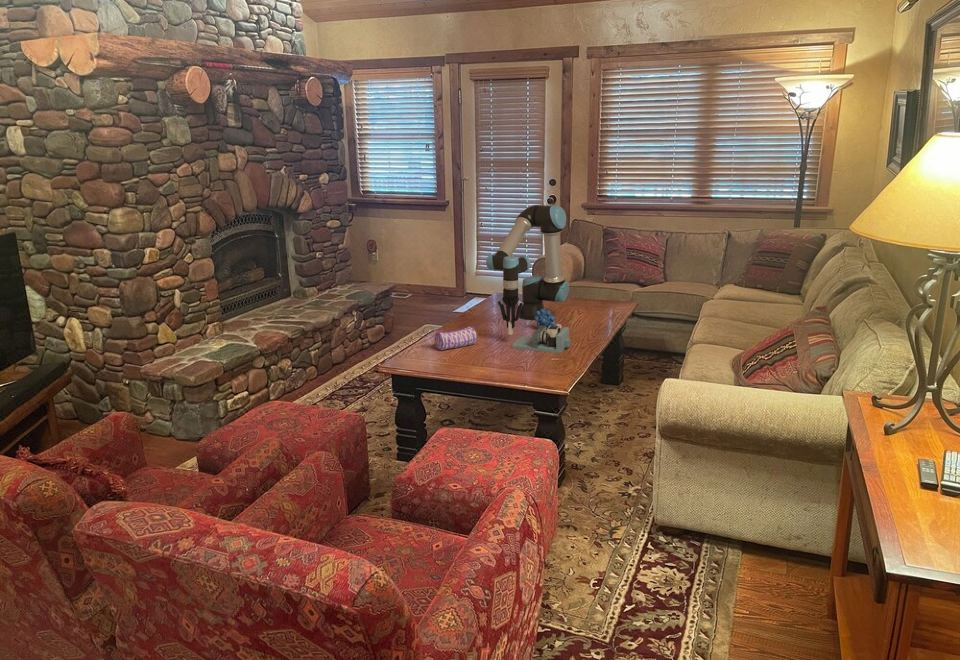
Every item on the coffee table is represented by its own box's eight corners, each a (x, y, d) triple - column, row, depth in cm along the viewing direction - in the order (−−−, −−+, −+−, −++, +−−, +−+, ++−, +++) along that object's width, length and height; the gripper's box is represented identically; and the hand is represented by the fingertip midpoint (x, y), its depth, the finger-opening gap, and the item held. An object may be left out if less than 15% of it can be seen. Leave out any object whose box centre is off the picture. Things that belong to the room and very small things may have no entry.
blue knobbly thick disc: (531, 331, 374) (532, 309, 370) (535, 328, 380) (535, 306, 376) (553, 333, 370) (553, 311, 366) (556, 330, 376) (557, 308, 372)
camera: (547, 338, 357) (547, 319, 354) (563, 339, 354) (564, 320, 351) (538, 347, 343) (539, 327, 340) (556, 348, 340) (556, 329, 337)
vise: (521, 339, 361) (521, 323, 358) (572, 344, 352) (573, 327, 349) (511, 348, 346) (511, 331, 344) (565, 353, 337) (565, 336, 335)
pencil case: (469, 340, 360) (469, 323, 357) (480, 345, 353) (479, 327, 350) (432, 348, 348) (432, 330, 345) (442, 353, 340) (442, 334, 338)
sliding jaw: (544, 334, 362) (544, 321, 360) (549, 335, 361) (549, 322, 359) (532, 347, 342) (532, 333, 341) (538, 347, 341) (538, 334, 340)
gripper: (495, 288, 345) (496, 334, 352) (521, 290, 341) (521, 337, 348) (500, 285, 352) (500, 330, 359) (525, 287, 348) (525, 333, 355)
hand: (510, 333), depth 353 cm, fingers closed
